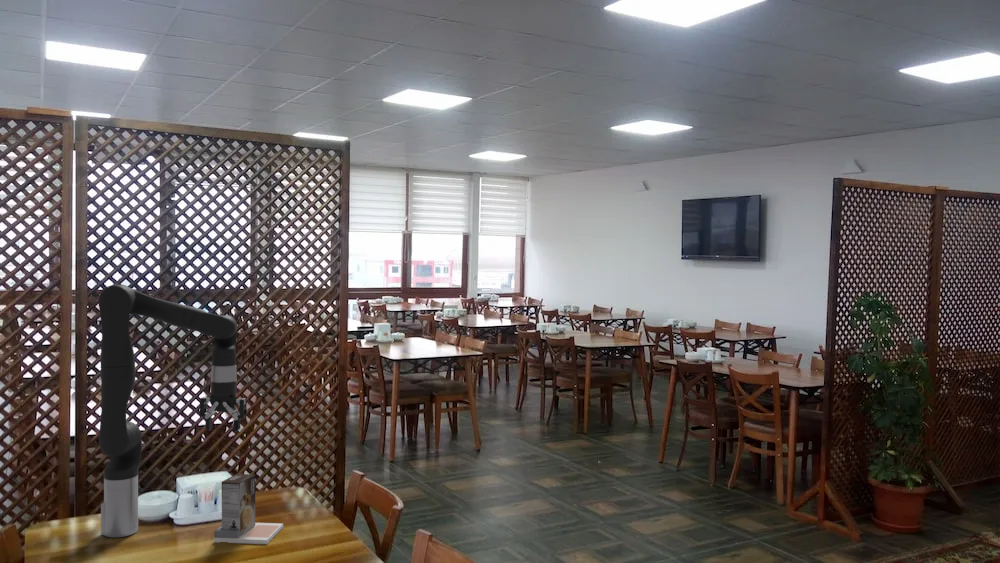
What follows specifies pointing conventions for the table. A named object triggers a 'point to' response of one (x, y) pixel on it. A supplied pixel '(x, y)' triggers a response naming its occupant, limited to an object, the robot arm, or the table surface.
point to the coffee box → (238, 503)
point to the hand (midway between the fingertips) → (222, 430)
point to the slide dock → (249, 534)
